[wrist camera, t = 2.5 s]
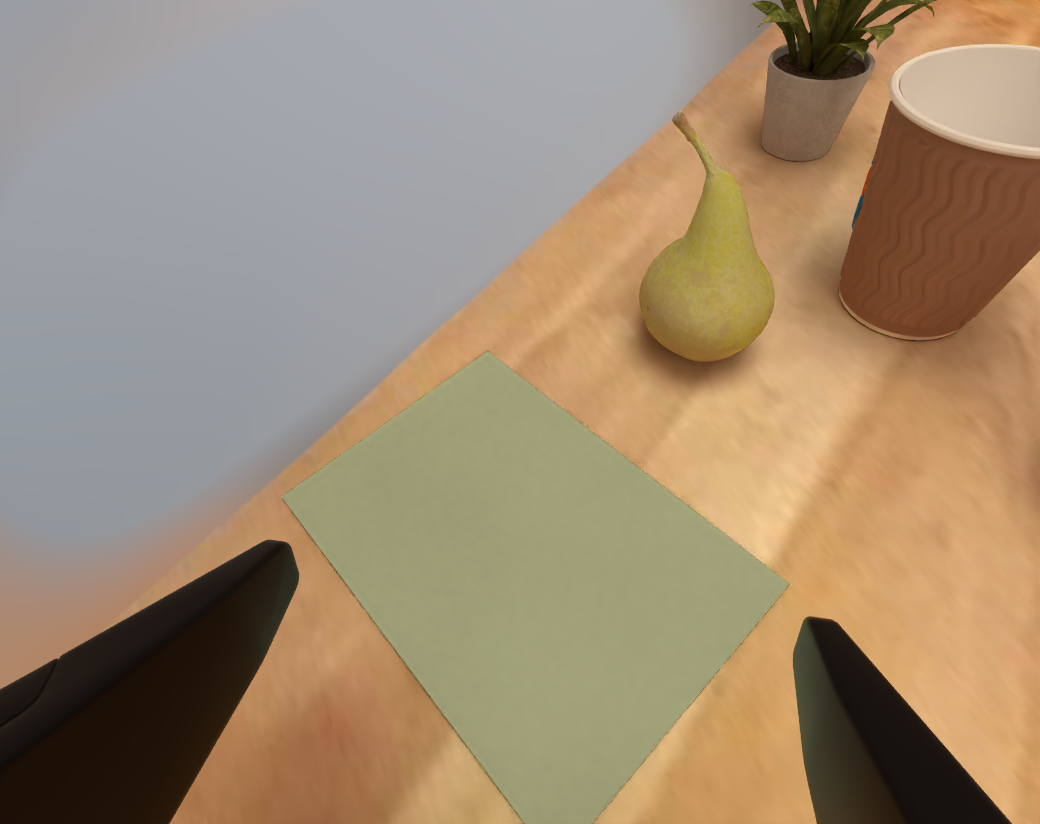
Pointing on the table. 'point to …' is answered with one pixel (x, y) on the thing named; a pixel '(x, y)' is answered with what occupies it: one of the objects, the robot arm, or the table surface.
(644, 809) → the table surface
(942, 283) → the coffee cup
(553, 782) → the mat
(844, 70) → the house plant
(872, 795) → the robot arm
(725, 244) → the fruit
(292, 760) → the table surface
